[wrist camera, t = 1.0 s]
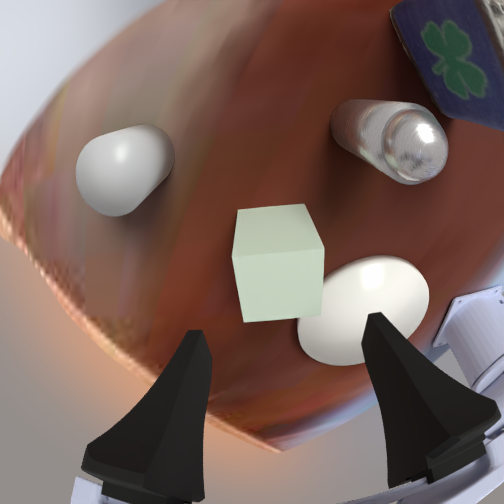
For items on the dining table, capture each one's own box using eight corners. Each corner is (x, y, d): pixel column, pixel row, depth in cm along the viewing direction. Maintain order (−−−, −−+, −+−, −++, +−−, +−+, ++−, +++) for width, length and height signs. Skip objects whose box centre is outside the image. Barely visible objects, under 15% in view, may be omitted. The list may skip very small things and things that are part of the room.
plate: (437, 248, 20) (444, 255, 19) (405, 345, 26) (408, 352, 25) (295, 263, 20) (298, 272, 19) (296, 363, 27) (297, 372, 26)
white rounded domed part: (168, 117, 15) (137, 124, 11) (180, 181, 17) (156, 209, 13) (110, 133, 15) (68, 148, 11) (123, 191, 17) (89, 221, 13)
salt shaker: (379, 101, 14) (467, 113, 7) (380, 152, 16) (460, 197, 9) (328, 98, 14) (394, 99, 7) (331, 152, 16) (392, 199, 9)
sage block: (304, 203, 18) (324, 248, 13) (305, 259, 20) (320, 315, 15) (238, 209, 18) (231, 256, 13) (246, 265, 21) (243, 322, 16)
